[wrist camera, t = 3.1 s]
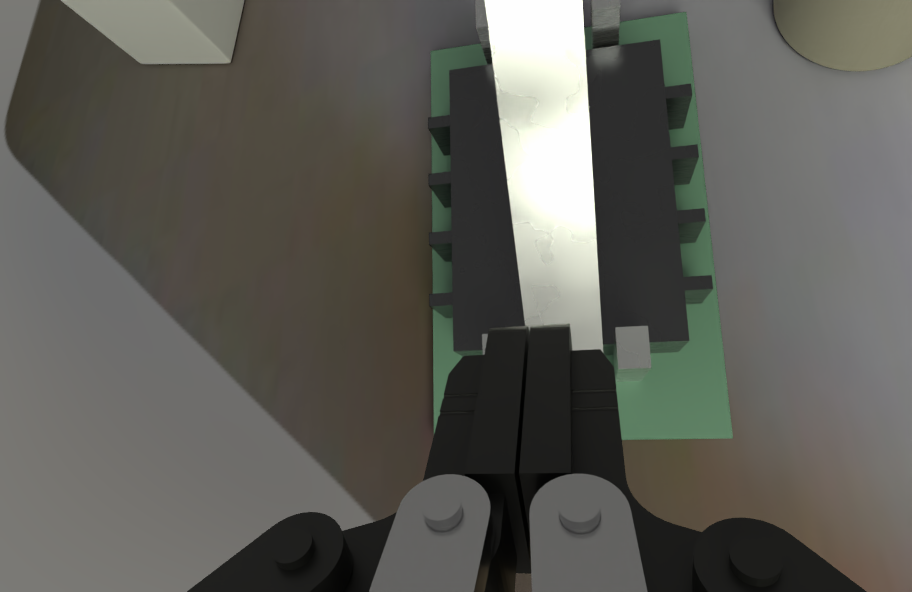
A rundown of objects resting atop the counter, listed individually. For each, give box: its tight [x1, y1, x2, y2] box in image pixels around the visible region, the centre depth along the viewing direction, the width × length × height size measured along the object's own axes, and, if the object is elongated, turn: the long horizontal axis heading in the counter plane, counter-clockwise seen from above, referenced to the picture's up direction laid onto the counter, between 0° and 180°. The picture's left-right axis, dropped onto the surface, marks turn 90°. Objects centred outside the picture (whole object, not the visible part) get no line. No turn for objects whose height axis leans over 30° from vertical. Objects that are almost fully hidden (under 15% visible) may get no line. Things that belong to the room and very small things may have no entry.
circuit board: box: [431, 12, 733, 440], centre depth 33 cm, size 22×14×1 cm, turn 1°
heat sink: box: [428, 0, 713, 382], centre depth 29 cm, size 17×12×7 cm
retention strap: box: [485, 0, 603, 352], centre depth 22 cm, size 16×3×1 cm
